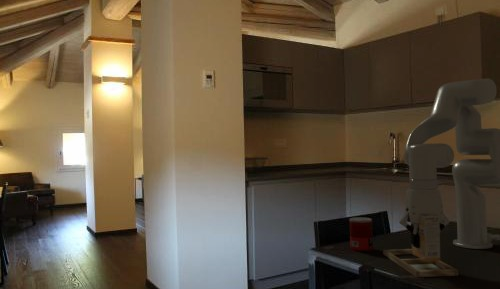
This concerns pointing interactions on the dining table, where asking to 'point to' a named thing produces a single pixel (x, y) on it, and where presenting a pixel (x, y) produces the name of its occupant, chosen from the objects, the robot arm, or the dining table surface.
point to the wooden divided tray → (420, 265)
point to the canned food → (361, 234)
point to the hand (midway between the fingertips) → (425, 246)
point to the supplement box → (428, 239)
